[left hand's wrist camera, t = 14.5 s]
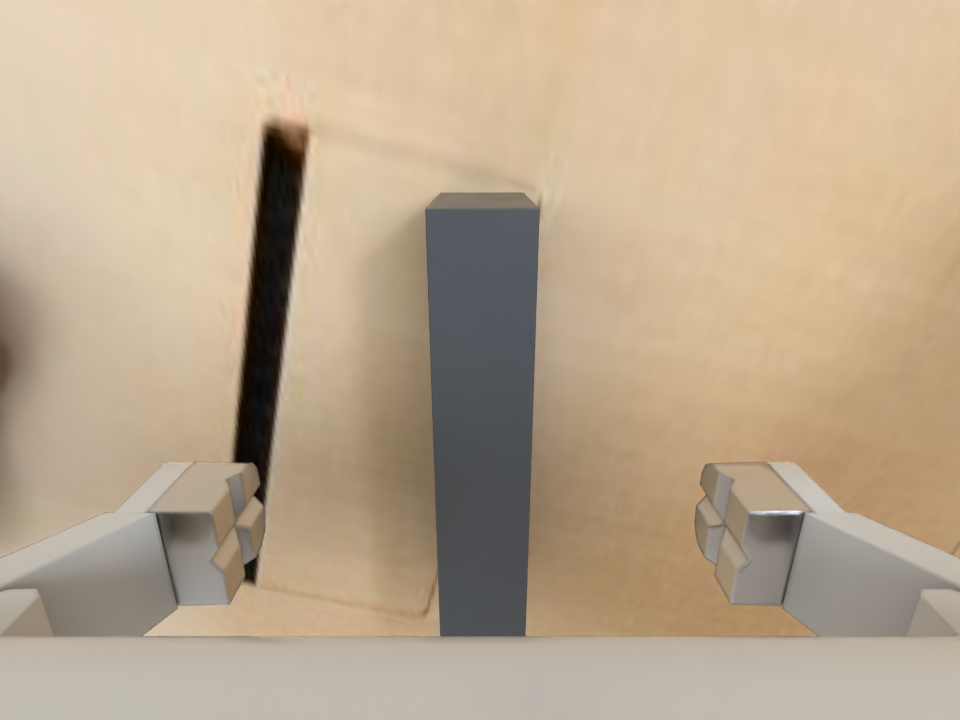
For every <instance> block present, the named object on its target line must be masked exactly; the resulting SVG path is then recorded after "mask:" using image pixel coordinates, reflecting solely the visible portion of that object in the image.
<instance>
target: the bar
mask: <svg viewBox="0 0 960 720" xmlns="http://www.w3.org/2000/svg"><path fill="white" fill-rule="evenodd" d="M425 212H426V241H427V269H428V298H429V327H430V355H431V384H432V413H433V441H434V470H435V498H436V527H437V556H438V584H439V613H440V636H525V630H526V600H527V571H528V541H529V511H530V481H531V451H532V421H533V391H534V361H535V331H536V302H537V272H538V242H539V212H540V210H539V208H538V207H537V206H536V205H535V204H534V203H533V202H532V201H531V200H530V199H529V198H528V197H527V196H526V195H525V194H524V193H440V194H439V195H438V196H437V197H436V199H435V200H434V201H433V202H432V203H431V204H430V205H429V206H428V207H427V208H426V210H425Z"/></svg>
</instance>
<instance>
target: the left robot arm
mask: <svg viewBox="0 0 960 720" xmlns="http://www.w3.org/2000/svg"><path fill="white" fill-rule="evenodd" d="M259 485H260V481H259V475H258V470H257V468H256V466H255V465H254V464H253V463H237V462H195V461H184V462H167V463H164V464H163V465H162V466H161V467H160V468H159V469H158V470H157V471H156V472H155V473H154V474H153V475H152V476H151V477H150V478H149V479H148V480H147V481H146V482H145V483H144V484H142V485H141V486H140V487H139V488H138V489H137V490H136V491H135V492H134V493H133V494H132V495H131V496H130V497H129V498H128V499H127V500H126V501H125V502H124V503H123V504H122V505H121V506H120V507H119V508H118V509H117V510H116V511H115V512H114V513H103V514H100V515H98V516H96V517H93V518H91V519H89V520H87V521H84V522H82V523H80V524H77V525H75V526H73V527H70V528H68V529H66V530H64V531H61V532H59V533H57V534H54V535H52V536H50V537H47V538H45V539H43V540H41V541H38V542H36V543H34V544H31V545H29V546H27V547H24V548H22V549H20V550H18V551H15V552H13V553H11V554H8V555H6V556H4V557H1V558H0V720H960V558H958V557H956V556H954V555H951V554H949V553H947V552H945V551H942V550H940V549H938V548H935V547H933V546H931V545H928V544H926V543H924V542H922V541H919V540H917V539H915V538H912V537H910V536H908V535H906V534H903V533H901V532H899V531H896V530H894V529H892V528H889V527H887V526H885V525H883V524H880V523H878V522H876V521H873V520H871V519H869V518H867V517H864V516H862V515H860V514H857V513H846V512H845V511H844V510H843V509H842V508H841V507H840V506H839V505H838V504H837V503H836V502H835V501H834V500H833V499H832V498H831V497H830V496H829V495H828V494H827V493H826V492H825V491H824V490H823V489H822V488H821V487H820V486H819V485H818V484H817V483H816V482H815V481H814V480H813V479H812V478H811V477H810V476H809V475H807V474H806V473H805V472H804V471H803V470H802V469H801V468H800V467H799V466H798V465H797V464H796V463H793V462H790V461H779V462H744V463H710V464H705V466H704V468H703V471H702V474H701V480H700V485H701V487H702V488H703V490H704V492H705V493H706V496H705V497H704V498H703V499H702V500H701V501H700V502H699V503H698V504H697V505H696V513H695V532H696V538H697V542H698V545H699V548H700V550H701V552H702V554H703V556H704V557H705V558H706V559H707V560H709V561H710V562H712V563H714V564H715V565H716V570H715V578H716V579H717V581H718V583H719V585H720V586H721V588H722V590H723V592H724V594H725V595H726V597H727V599H728V601H729V603H730V604H732V605H768V606H782V608H783V609H784V610H785V611H786V612H788V613H789V614H790V615H792V616H793V617H794V618H795V619H797V620H798V621H799V622H801V623H802V624H803V625H804V626H806V627H807V628H808V629H810V630H811V631H812V632H813V633H815V634H816V635H817V636H143V635H144V634H145V633H147V632H148V631H149V630H151V629H152V628H153V627H154V626H156V625H157V624H158V623H160V622H161V621H162V620H163V619H165V618H166V617H167V616H169V615H170V614H171V613H173V612H174V611H175V610H176V609H178V607H177V606H191V605H226V604H230V603H231V601H232V599H233V597H234V595H235V594H236V592H237V590H238V588H239V587H240V585H241V583H242V581H243V579H244V578H245V570H244V565H245V564H246V563H248V562H250V561H251V560H253V559H254V558H255V557H256V556H257V554H258V552H259V550H260V548H261V546H262V541H263V537H264V533H265V512H264V505H263V504H262V503H261V502H260V501H259V500H258V499H257V498H256V497H255V496H254V493H255V492H256V490H257V488H258V487H259Z"/></svg>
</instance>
